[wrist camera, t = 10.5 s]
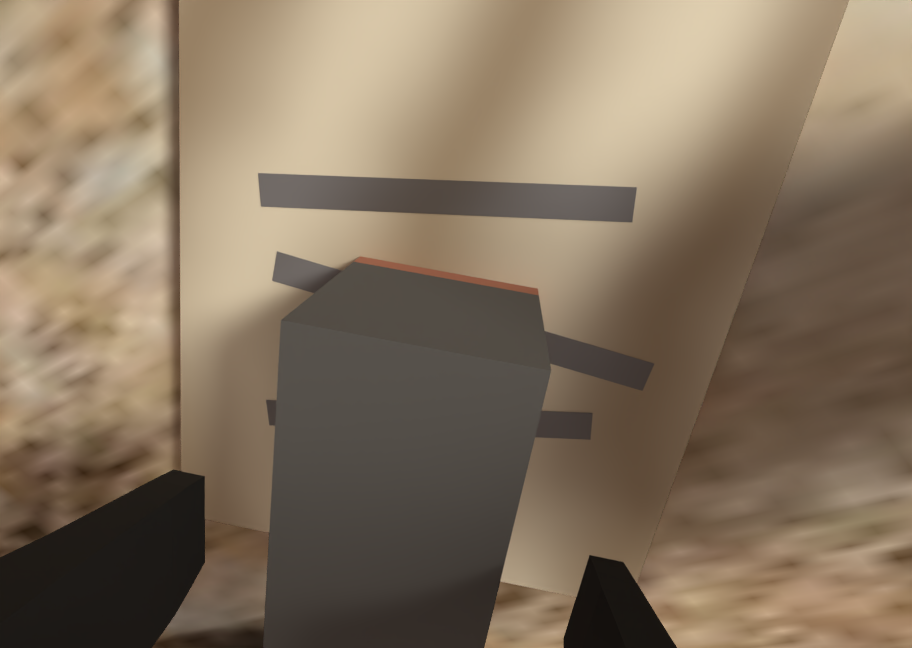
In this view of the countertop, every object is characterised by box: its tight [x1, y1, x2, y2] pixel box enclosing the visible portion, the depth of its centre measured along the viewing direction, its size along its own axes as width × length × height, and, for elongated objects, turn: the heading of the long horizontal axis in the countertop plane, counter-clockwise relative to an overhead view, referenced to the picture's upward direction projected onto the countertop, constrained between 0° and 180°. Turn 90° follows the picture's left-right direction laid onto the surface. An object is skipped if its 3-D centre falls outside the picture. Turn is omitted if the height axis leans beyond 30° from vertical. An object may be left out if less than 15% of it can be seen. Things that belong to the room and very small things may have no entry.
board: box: [179, 0, 849, 597], centre depth 14 cm, size 14×20×1 cm
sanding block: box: [263, 256, 551, 648], centre depth 13 cm, size 4×8×5 cm, turn 171°
